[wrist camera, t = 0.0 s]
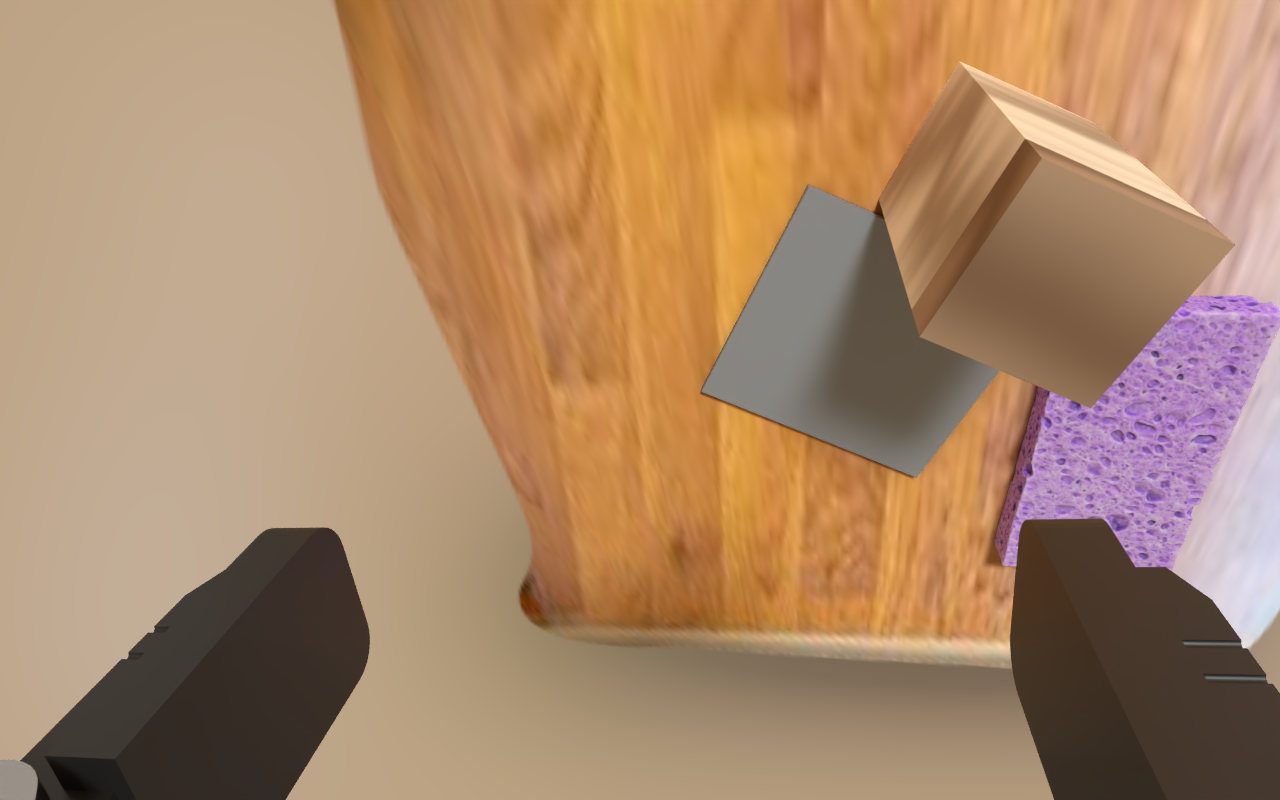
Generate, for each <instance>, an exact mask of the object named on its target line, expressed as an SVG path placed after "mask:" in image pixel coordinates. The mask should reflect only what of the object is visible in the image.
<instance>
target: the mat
mask: <svg viewBox="0 0 1280 800" xmlns="http://www.w3.org/2000/svg"><path fill="white" fill-rule="evenodd" d="M999 371H1000V370H998V369H995V368H993V367H991V366H988V365H986V364H983V363H981V362H979V361H976V360H974V359H971V358H969V357H967V356H964V355H962V354H959V353H957V352H955V351H952V350H950V349H947V348H945V347H943V346H940V345H938V344H935V343H933V342H931V341H928V340H926V339H924V338H921V337H920V336H919V333H918V330H917V326H916V323H915V320H914V316H913V313H912V309H911V306H910V303H909V299H908V296H907V293H906V289H905V286H904V283H903V279H902V276H901V272H900V269H899V266H898V262H897V259H896V256H895V252H894V249H893V246H892V242H891V239H890V235H889V232H888V229H887V225H886V222H885V219H884V217H882V216H880V215H878V214H875V213H873V212H871V211H868V210H866V209H864V208H861V207H859V206H857V205H855V204H852V203H850V202H848V201H845V200H843V199H841V198H838V197H836V196H834V195H831V194H829V193H827V192H824V191H822V190H820V189H817V188H815V187H813V186H811V185H808V186H807V188H806V190H805V192H804V193H803V195H802V197H801V199H800V201H799V203H798V205H797V207H796V209H795V211H794V213H793V215H792V216H791V218H790V220H789V222H788V224H787V226H786V228H785V230H784V232H783V234H782V236H781V237H780V239H779V241H778V243H777V245H776V247H775V249H774V251H773V253H772V255H771V257H770V259H769V260H768V262H767V264H766V266H765V268H764V270H763V272H762V274H761V276H760V278H759V280H758V281H757V283H756V285H755V287H754V289H753V291H752V293H751V295H750V297H749V299H748V301H747V303H746V304H745V306H744V308H743V310H742V312H741V314H740V316H739V318H738V320H737V322H736V324H735V325H734V327H733V329H732V331H731V333H730V335H729V337H728V339H727V341H726V343H725V345H724V347H723V348H722V350H721V352H720V354H719V356H718V358H717V360H716V362H715V364H714V366H713V368H712V369H711V371H710V373H709V375H708V377H707V379H706V381H705V383H704V385H703V387H702V391H701V392H703V393H706V394H708V395H711V396H713V397H716V398H718V399H721V400H723V401H726V402H728V403H731V404H733V405H736V406H738V407H741V408H743V409H746V410H748V411H751V412H753V413H756V414H758V415H761V416H763V417H766V418H768V419H771V420H773V421H776V422H778V423H781V424H783V425H786V426H788V427H791V428H793V429H796V430H798V431H801V432H803V433H806V434H808V435H811V436H813V437H816V438H818V439H821V440H823V441H826V442H828V443H831V444H833V445H836V446H838V447H841V448H843V449H846V450H848V451H851V452H853V453H856V454H858V455H861V456H863V457H866V458H868V459H871V460H873V461H876V462H878V463H881V464H884V465H886V466H889V467H891V468H894V469H896V470H899V471H901V472H904V473H906V474H909V475H911V476H914V477H916V478H917V477H918V475H919V474H920V473H921V471H922V470H923V469H924V468H925V466H926V465H927V464H928V462H929V461H930V460H931V459H932V457H933V456H934V455H935V453H936V452H937V451H938V450H939V448H940V447H941V446H942V444H943V443H944V442H945V440H946V439H947V438H948V437H949V435H950V434H951V433H952V431H953V430H954V429H955V428H956V426H957V425H958V424H959V422H960V421H961V420H962V419H963V417H964V416H965V415H966V413H967V412H968V411H969V409H970V408H971V407H972V406H973V404H974V403H975V402H976V400H977V399H978V398H979V397H980V395H981V394H982V393H983V391H984V390H985V389H986V388H987V386H988V385H989V384H990V382H991V381H992V380H993V378H994V377H995V376H996V375H997V373H998V372H999Z"/></svg>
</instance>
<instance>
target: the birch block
mask: <svg viewBox="0 0 1280 800" xmlns="http://www.w3.org/2000/svg"><path fill="white" fill-rule="evenodd" d="M879 202H880V205H881V209H882V212H883V215H884V219H885V222H886V225H887V229H888V232H889V235H890V239H891V242H892V246H893V249H894V252H895V256H896V259H897V262H898V266H899V269H900V272H901V276H902V279H903V283H904V286H905V289H906V293H907V296H908V299H909V303H910V306H911V309H912V313H913V316H914V320H915V323H916V326H917V330H918V333H919V336H920V337H921V338H924V339H926V340H928V341H931V342H933V343H935V344H938V345H940V346H943V347H945V348H947V349H950V350H952V351H955V352H957V353H959V354H962V355H964V356H967V357H969V358H971V359H974V360H976V361H979V362H981V363H983V364H986V365H988V366H991V367H993V368H995V369H998V370H1000V371H1002V372H1005V373H1007V374H1010V375H1012V376H1014V377H1017V378H1019V379H1022V380H1024V381H1026V382H1029V383H1031V384H1034V385H1036V386H1038V387H1041V388H1043V389H1046V390H1048V391H1050V392H1053V393H1055V394H1057V395H1060V396H1062V397H1065V398H1067V399H1069V400H1072V401H1074V402H1077V403H1079V404H1081V405H1084V406H1086V407H1089V408H1092V406H1093V405H1094V404H1095V403H1096V402H1097V401H1098V400H1099V398H1100V397H1101V396H1102V395H1103V394H1104V393H1105V392H1106V391H1107V389H1108V388H1109V387H1110V386H1111V385H1112V384H1113V383H1114V381H1115V380H1116V379H1117V378H1118V377H1119V376H1120V375H1121V374H1122V372H1123V371H1124V370H1125V369H1126V368H1127V367H1128V366H1129V365H1130V363H1131V362H1132V361H1133V360H1134V359H1135V358H1136V357H1137V355H1138V354H1139V353H1140V352H1141V351H1142V350H1143V349H1144V348H1145V346H1146V345H1147V344H1148V343H1149V342H1150V341H1151V340H1152V338H1153V337H1154V336H1155V335H1156V334H1157V333H1158V332H1159V331H1160V329H1161V328H1162V327H1163V326H1164V325H1165V324H1166V323H1167V321H1168V320H1169V319H1170V318H1171V317H1172V316H1173V315H1174V314H1175V312H1176V311H1177V310H1178V309H1179V308H1180V307H1181V306H1182V305H1183V303H1184V302H1185V301H1186V300H1187V299H1188V298H1189V297H1190V295H1191V294H1192V293H1193V292H1194V291H1195V290H1196V289H1197V288H1198V286H1199V285H1200V284H1201V283H1202V282H1203V281H1204V280H1205V278H1206V277H1207V276H1208V275H1209V274H1210V273H1211V272H1212V271H1213V269H1214V268H1215V267H1216V266H1217V265H1218V264H1219V263H1220V261H1221V260H1222V259H1223V258H1224V257H1225V256H1226V255H1227V254H1228V252H1229V251H1230V250H1231V249H1232V248H1233V247H1234V246H1235V244H1234V243H1233V242H1231V241H1230V240H1229V239H1228V238H1227V237H1226V236H1225V235H1223V234H1222V233H1221V232H1220V231H1219V230H1218V229H1216V228H1215V227H1214V226H1213V225H1212V224H1211V223H1210V222H1208V221H1207V220H1206V219H1205V218H1204V217H1203V216H1201V215H1200V214H1199V213H1198V212H1197V211H1196V210H1195V209H1193V208H1192V207H1191V206H1190V205H1189V204H1188V203H1187V202H1185V201H1184V200H1183V199H1182V198H1181V197H1180V196H1178V195H1177V194H1176V193H1175V192H1174V191H1173V190H1172V189H1170V188H1169V187H1168V186H1167V185H1166V184H1165V183H1163V182H1162V181H1161V180H1160V179H1159V178H1158V177H1157V176H1155V175H1154V174H1153V173H1152V172H1151V171H1150V170H1148V169H1147V168H1146V167H1145V166H1144V165H1143V164H1142V163H1140V162H1139V161H1138V160H1137V159H1136V158H1135V157H1133V156H1132V155H1131V154H1130V153H1129V152H1128V151H1127V150H1125V149H1124V148H1123V147H1122V146H1121V145H1120V144H1118V143H1117V142H1116V141H1115V140H1114V139H1113V138H1112V137H1110V136H1109V135H1108V134H1107V133H1106V132H1105V131H1103V130H1102V129H1101V128H1100V127H1099V126H1098V125H1097V124H1095V123H1094V122H1091V121H1089V120H1087V119H1085V118H1083V117H1080V116H1078V115H1076V114H1074V113H1072V112H1069V111H1067V110H1065V109H1063V108H1061V107H1059V106H1056V105H1054V104H1052V103H1050V102H1048V101H1045V100H1043V99H1041V98H1039V97H1037V96H1034V95H1032V94H1030V93H1028V92H1026V91H1023V90H1021V89H1019V88H1017V87H1015V86H1013V85H1010V84H1008V83H1006V82H1004V81H1002V80H999V79H997V78H995V77H993V76H991V75H988V74H986V73H984V72H982V71H980V70H977V69H975V68H973V67H971V66H969V65H966V64H964V63H962V62H960V61H959V62H958V64H957V65H956V67H955V69H954V70H953V72H952V74H951V76H950V77H949V79H948V81H947V82H946V84H945V86H944V88H943V89H942V91H941V93H940V95H939V96H938V98H937V100H936V101H935V103H934V105H933V107H932V108H931V110H930V112H929V113H928V115H927V117H926V119H925V120H924V122H923V124H922V125H921V127H920V129H919V131H918V132H917V134H916V136H915V137H914V139H913V141H912V143H911V144H910V146H909V148H908V149H907V151H906V153H905V155H904V156H903V158H902V160H901V162H900V163H899V165H898V167H897V168H896V170H895V172H894V174H893V175H892V177H891V179H890V180H889V182H888V184H887V186H886V187H885V189H884V191H883V192H882V194H881V196H880V198H879Z"/></svg>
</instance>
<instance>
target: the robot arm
mask: <svg viewBox="0 0 1280 800" xmlns="http://www.w3.org/2000/svg"><path fill="white" fill-rule="evenodd" d="M154 627H155V630H154V633H147V634H146V635H145V636H144V637H143V639H142V640H141V641H139V642H138V643H137V645H135V646H134V647H133V648H132V650H130V651H129V657H128V659H121V660H120V661H119V662H118V663H117V664H116V665H115V666H114V668H113V669H111V671H109V672H108V673H107V674H106V676H105V677H103V679H102V680H100V681H99V683H98V684H96V686H94V688H92V689H91V690H90V691H89V692H88V694H87V695H86V696H85V697H83V698H82V700H81V701H79V702H78V703H77V704H76V706H75V707H74V708H72V710H70V711H69V713H68V714H66V715H65V717H64V718H62V720H60V721H59V723H58V724H56V725H55V726H54V728H53V729H52V730H51V731H50V732H49V733H48V734H47V735H46V736H45V737H44V738H43V739H42V740H41V741H40V742H39V743H38V744H37V745H36V746H35V747H34V748H33V749H32V750H31V751H30V752H29V753H28V754H27V755H26V756H25V757H24V758H23V759H22V760H20V761H16V760H0V800H286V798H287V796H288V795H289V793H290V792H291V790H292V788H293V787H294V785H295V783H296V782H297V780H298V779H299V777H300V775H301V774H302V772H303V771H304V769H305V767H306V766H307V764H308V762H309V761H310V759H311V757H312V756H313V754H314V753H315V751H316V749H317V748H318V746H319V744H320V743H321V741H322V740H323V738H324V736H325V735H326V733H327V732H328V730H329V728H330V727H331V725H332V724H333V722H334V720H335V719H336V717H337V715H338V714H339V712H340V711H341V709H342V707H343V706H344V704H345V703H346V701H347V699H348V698H349V696H350V694H351V693H352V691H353V689H354V688H355V686H356V685H357V683H358V681H359V680H360V678H361V676H362V674H363V672H364V669H365V666H366V663H367V659H368V654H369V644H370V636H369V628H368V624H367V621H366V617H365V614H364V611H363V608H362V605H361V601H360V598H359V595H358V592H357V589H356V586H355V583H354V579H353V576H352V573H351V570H350V567H349V564H348V560H347V557H346V554H345V551H344V548H343V545H342V542H341V540H340V538H339V536H338V535H337V534H336V533H335V532H334V531H333V530H332V529H329V528H272V529H268V530H266V531H264V532H263V533H261V534H260V535H259V536H258V537H257V538H256V539H255V540H254V541H253V542H252V543H251V544H250V545H249V546H248V547H247V548H246V549H245V550H244V551H243V552H242V554H240V555H239V556H238V558H236V559H235V561H234V562H233V563H232V564H231V565H230V566H229V567H228V568H227V569H226V570H224V571H223V572H221V573H220V574H218V575H216V576H215V577H213V578H212V579H210V580H209V581H207V582H205V583H204V584H202V585H201V586H199V587H198V588H196V589H195V590H193V591H192V592H190V593H188V594H187V595H185V596H184V597H183V598H182V599H181V600H180V601H179V603H177V604H176V605H175V606H174V607H173V609H171V611H169V612H168V613H167V614H166V615H165V616H164V617H163V618H162V619H161V620H160V621H159V622H158V623H157V624H156V625H155V626H154ZM1010 649H1011V661H1012V669H1013V675H1014V680H1015V685H1016V689H1017V692H1018V696H1019V698H1020V702H1021V704H1022V707H1023V710H1024V713H1025V716H1026V719H1027V722H1028V725H1029V728H1030V731H1031V734H1032V736H1033V739H1034V742H1035V745H1036V748H1037V751H1038V754H1039V757H1040V760H1041V762H1042V765H1043V768H1044V771H1045V774H1046V777H1047V780H1048V783H1049V786H1050V788H1051V791H1052V794H1053V797H1054V800H1280V693H1279V692H1278V690H1277V689H1276V688H1275V686H1274V685H1273V684H1268V683H1267V680H1266V674H1265V672H1264V671H1263V670H1262V668H1261V667H1260V666H1259V664H1258V663H1257V661H1256V660H1255V659H1254V657H1253V656H1252V654H1251V653H1250V652H1249V650H1248V649H1247V648H1242V645H1241V639H1240V638H1239V637H1238V635H1237V634H1236V632H1235V631H1234V630H1233V628H1232V627H1231V625H1230V624H1229V623H1228V621H1227V620H1226V619H1225V617H1224V616H1223V614H1222V613H1221V612H1220V610H1219V609H1218V607H1217V606H1216V605H1215V603H1214V602H1213V601H1212V600H1211V599H1210V598H1208V597H1207V596H1206V595H1204V594H1203V593H1201V592H1200V591H1199V590H1197V589H1196V588H1194V587H1193V586H1192V585H1190V584H1189V583H1187V582H1186V581H1184V580H1183V579H1182V578H1180V577H1179V576H1177V575H1176V574H1175V573H1173V572H1172V571H1170V570H1169V569H1168V568H1166V567H1135V565H1134V564H1133V562H1132V561H1131V559H1130V557H1129V556H1128V554H1127V553H1126V551H1125V550H1124V548H1123V546H1122V545H1121V543H1120V542H1119V540H1118V538H1117V537H1116V535H1115V534H1114V532H1113V530H1112V529H1111V527H1110V526H1109V525H1108V523H1107V522H1106V521H1105V520H1103V519H1101V518H1099V519H1028V520H1025V521H1024V522H1023V523H1022V526H1021V528H1020V533H1019V540H1018V552H1017V563H1016V574H1015V586H1014V597H1013V609H1012V620H1011V633H1010Z"/></svg>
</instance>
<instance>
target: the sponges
mask: <svg viewBox="0 0 1280 800" xmlns="http://www.w3.org/2000/svg"><path fill="white" fill-rule="evenodd" d="M1279 327H1280V311H1279V308H1278V307H1277V306H1276V305H1274V304H1273V303H1272V302H1269V303H1258V302H1257V300H1256V299H1255V298H1253V297H1250V296H1220V297H1212V296H1190V297H1189V298H1188V299H1187V300H1186V301H1185V302H1184V303H1183V305H1182V306H1181V307H1180V308H1179V309H1178V310H1177V311H1176V312H1175V314H1174V315H1173V316H1172V317H1171V318H1170V319H1169V320H1168V321H1167V323H1166V324H1165V325H1164V326H1163V327H1162V328H1161V329H1160V331H1159V332H1158V333H1157V334H1156V335H1155V336H1154V337H1153V338H1152V340H1151V341H1150V342H1149V343H1148V344H1147V345H1146V346H1145V348H1144V349H1143V350H1142V351H1141V352H1140V353H1139V354H1138V355H1137V357H1136V358H1135V359H1134V360H1133V361H1132V362H1131V363H1130V365H1129V366H1128V367H1127V368H1126V369H1125V370H1124V371H1123V372H1122V374H1121V375H1120V376H1119V377H1118V378H1117V379H1116V380H1115V381H1114V383H1113V384H1112V385H1111V386H1110V387H1109V388H1108V389H1107V391H1106V392H1105V393H1104V394H1103V395H1102V396H1101V397H1100V398H1099V400H1098V401H1097V402H1096V403H1095V404H1094V405H1093V406H1092V408H1089V407H1086V406H1084V405H1081V404H1079V403H1077V402H1074V401H1072V400H1069V399H1067V398H1065V397H1062V396H1060V395H1057V394H1055V393H1053V392H1050V391H1048V390H1046V389H1043V388H1041V387H1038V389H1037V392H1036V396H1035V402H1034V405H1033V407H1032V411H1031V415H1030V418H1029V422H1028V426H1027V429H1026V434H1025V436H1024V440H1023V443H1022V446H1021V450H1020V453H1019V459H1018V461H1017V464H1016V471H1015V475H1014V479H1013V481H1012V482H1011V484H1010V487H1009V491H1008V494H1007V498H1006V501H1005V506H1004V508H1003V511H1002V514H1001V518H1000V521H999V525H998V529H997V535H996V537H995V540H994V543H995V547H996V549H997V551H998V554H999V555H1000V559H1001V563H1002V565H1003V566H1016V563H1017V552H1018V540H1019V533H1020V528H1021V526H1022V523H1023V522H1024V521H1025V520H1028V519H1099V518H1101V519H1103V520H1105V521H1106V522H1107V523H1108V525H1109V526H1110V527H1111V529H1112V530H1113V532H1114V534H1115V535H1116V537H1117V538H1118V540H1119V542H1120V543H1121V545H1122V546H1123V548H1124V550H1125V551H1126V553H1127V554H1128V556H1129V557H1130V559H1131V561H1132V562H1133V564H1134V565H1135V567H1166V568H1168V569H1169V570H1170V571H1172V569H1173V567H1174V565H1175V560H1176V557H1177V555H1178V553H1179V550H1180V547H1181V545H1182V544H1183V542H1184V539H1185V537H1186V534H1187V531H1188V527H1189V525H1190V524H1191V521H1192V517H1191V512H1192V509H1193V506H1194V505H1198V504H1199V503H1200V501H1201V499H1202V497H1203V494H1204V492H1205V490H1206V489H1207V486H1208V485H1209V483H1210V482H1211V480H1212V476H1213V469H1214V467H1215V466H1216V465H1217V464H1218V462H1219V461H1220V458H1221V452H1222V451H1223V450H1224V449H1225V447H1226V445H1227V443H1228V441H1229V438H1230V436H1231V434H1232V431H1233V428H1234V426H1235V425H1236V423H1237V420H1238V418H1239V416H1240V414H1241V409H1242V407H1243V406H1244V404H1245V402H1246V400H1247V398H1248V396H1249V394H1250V391H1251V388H1252V386H1253V385H1254V383H1255V379H1256V376H1257V373H1258V371H1259V369H1260V367H1261V366H1262V363H1263V361H1264V360H1265V358H1266V356H1267V353H1268V349H1269V347H1270V345H1271V343H1272V341H1273V340H1274V338H1275V336H1276V335H1277V332H1278V329H1279Z"/></svg>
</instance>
